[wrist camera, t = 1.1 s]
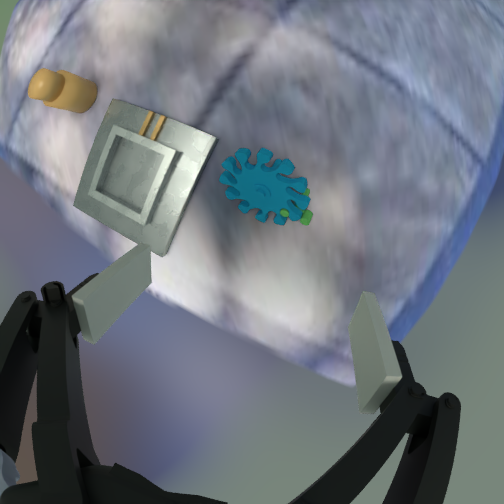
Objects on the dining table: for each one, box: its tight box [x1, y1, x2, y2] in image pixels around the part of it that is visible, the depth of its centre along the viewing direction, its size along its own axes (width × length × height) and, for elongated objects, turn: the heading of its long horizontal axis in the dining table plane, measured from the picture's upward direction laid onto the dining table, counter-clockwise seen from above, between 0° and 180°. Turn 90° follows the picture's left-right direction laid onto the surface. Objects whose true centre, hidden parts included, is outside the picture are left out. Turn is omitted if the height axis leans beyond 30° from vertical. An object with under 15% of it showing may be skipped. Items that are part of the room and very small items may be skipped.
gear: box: [219, 148, 313, 225], centre depth 29 cm, size 11×6×10 cm
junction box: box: [73, 99, 219, 257], centre depth 31 cm, size 16×16×3 cm
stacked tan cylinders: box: [28, 68, 97, 113], centre depth 24 cm, size 5×5×10 cm
